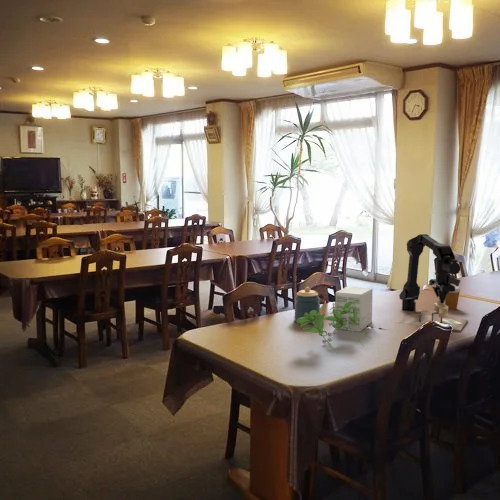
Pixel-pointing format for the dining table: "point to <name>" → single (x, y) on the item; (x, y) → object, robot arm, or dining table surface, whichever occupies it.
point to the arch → (441, 308)
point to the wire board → (422, 319)
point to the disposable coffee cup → (452, 299)
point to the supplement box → (362, 304)
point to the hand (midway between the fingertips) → (441, 302)
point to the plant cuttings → (336, 317)
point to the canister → (306, 303)
